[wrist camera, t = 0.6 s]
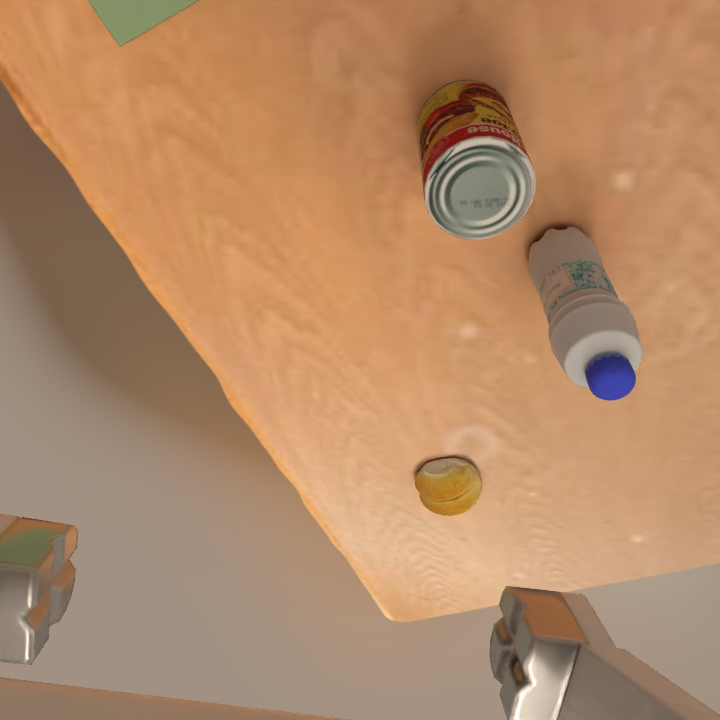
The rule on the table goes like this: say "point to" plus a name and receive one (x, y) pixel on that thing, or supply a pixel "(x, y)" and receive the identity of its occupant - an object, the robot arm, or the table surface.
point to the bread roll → (448, 486)
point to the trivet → (135, 15)
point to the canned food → (473, 162)
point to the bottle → (585, 314)
